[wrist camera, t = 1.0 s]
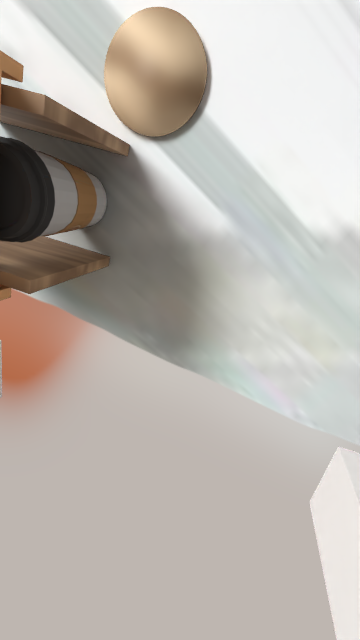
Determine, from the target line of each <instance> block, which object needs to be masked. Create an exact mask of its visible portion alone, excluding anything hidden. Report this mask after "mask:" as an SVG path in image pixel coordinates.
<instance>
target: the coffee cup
mask: <svg viewBox="0 0 360 640" xmlns="http://www.w3.org/2000/svg"><path fill="white" fill-rule="evenodd" d="M106 206H107V197H106V193H105V189H104V187H103V185H102V183H101V182H100V181H99V180H98V179H97V178H96V177H95V176H94V175H92V174H91V173H88V172H86V171H84V170H82V169H80V168H78V167H76V166H74V165H71V164H69V163H67V162H64V161H62V160H60V159H57V158H55V157H53V156H50V155H47V154H45V153H42V152H40V151H36V150H33V149H31V148H30V147H29V146H27V145H26V144H24V143H23V142H20V141H18V140H15V139H12V138H4V137H0V240H1V241H7V242H21V243H22V242H27V241H32V240H34V239H35V238H37V237H39V236H49V235H54V234H58V233H63V232H68V231H72V230H77V229H82V228H84V227H88V226H92V225H94V224H96V223H98V222H99V221H100V220H101V218H102V217H103V215H104V213H105V210H106Z"/></svg>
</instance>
